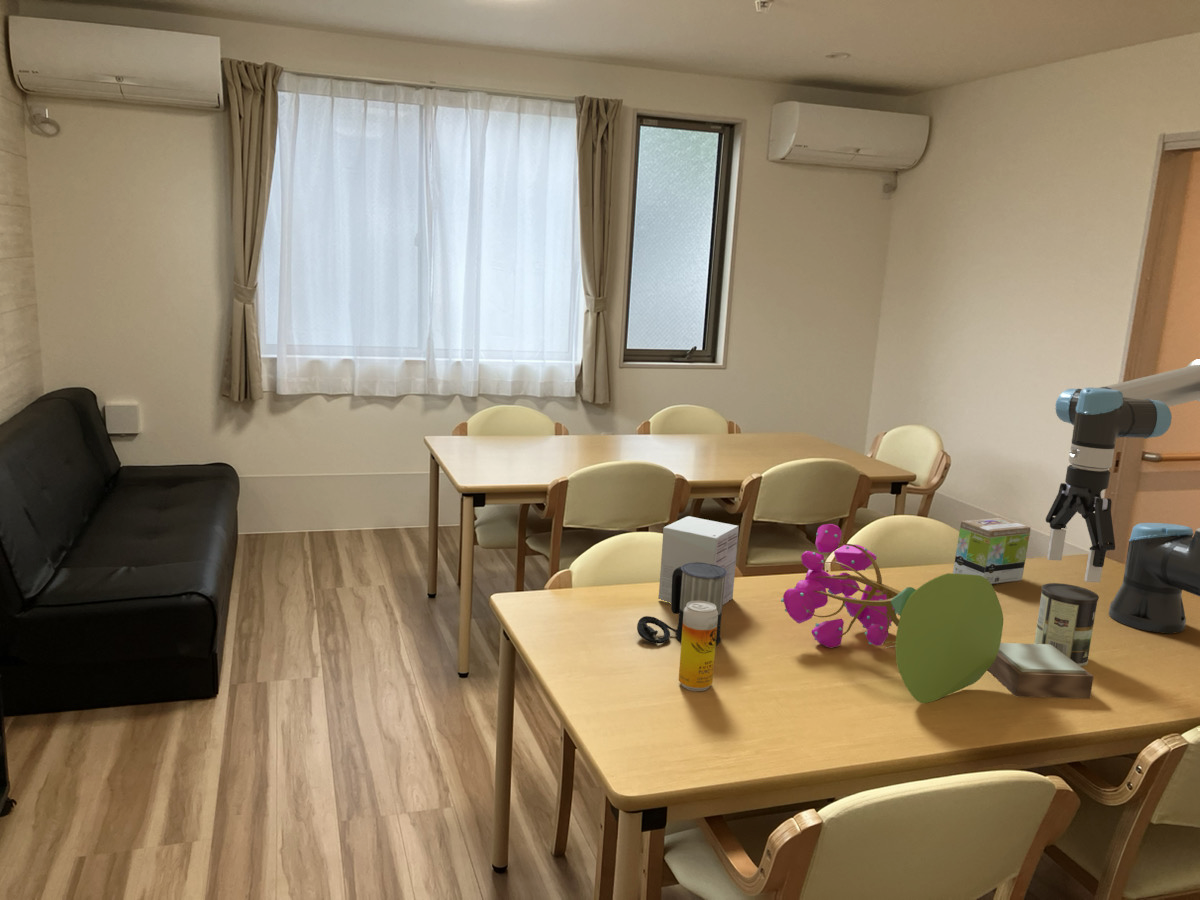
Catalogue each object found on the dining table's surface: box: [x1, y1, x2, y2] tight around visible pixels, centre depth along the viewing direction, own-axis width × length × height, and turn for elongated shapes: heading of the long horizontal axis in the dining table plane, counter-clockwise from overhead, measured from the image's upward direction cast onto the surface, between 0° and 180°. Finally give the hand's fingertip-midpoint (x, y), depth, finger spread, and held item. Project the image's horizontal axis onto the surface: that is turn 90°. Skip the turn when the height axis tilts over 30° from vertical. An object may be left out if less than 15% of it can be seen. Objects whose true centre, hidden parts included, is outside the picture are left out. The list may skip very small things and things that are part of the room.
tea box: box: [952, 517, 1032, 585], centre depth 233 cm, size 15×10×15 cm
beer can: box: [678, 601, 718, 692], centre depth 161 cm, size 6×6×15 cm
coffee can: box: [1033, 582, 1100, 667], centre depth 184 cm, size 10×10×14 cm
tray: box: [987, 642, 1095, 700], centre depth 172 cm, size 14×14×5 cm
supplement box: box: [657, 515, 740, 606], centre depth 205 cm, size 13×13×18 cm
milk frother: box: [636, 562, 727, 645], centre depth 182 cm, size 14×16×15 cm
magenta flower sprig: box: [780, 523, 1004, 704], centre depth 179 cm, size 30×28×35 cm
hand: (1072, 570), depth 182 cm, fingers open, 13 cm apart
